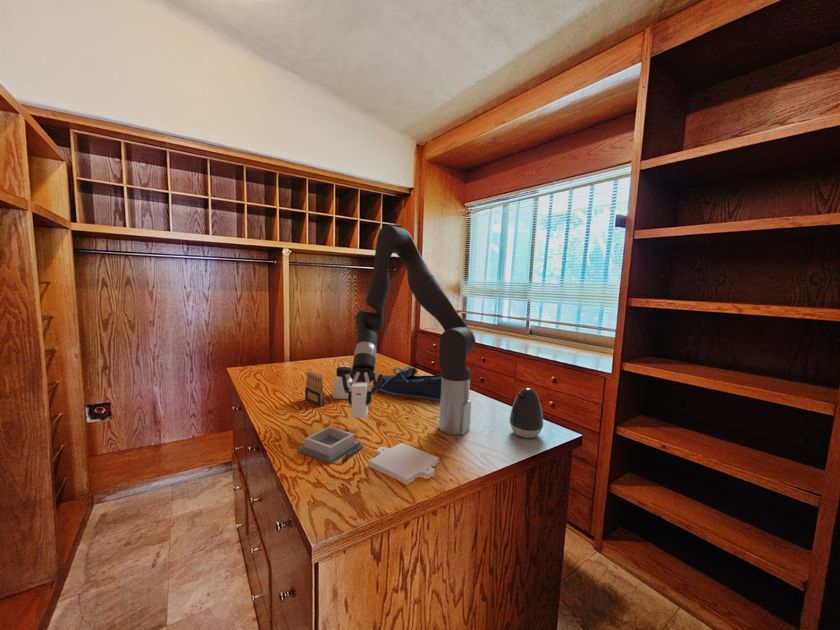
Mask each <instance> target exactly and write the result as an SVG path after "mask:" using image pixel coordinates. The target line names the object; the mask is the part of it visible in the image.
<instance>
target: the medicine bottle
mask: <svg viewBox="0 0 840 630" xmlns="http://www.w3.org/2000/svg"><path fill="white" fill-rule="evenodd" d="M351 371H352V367H351V366H348V365H342V366H341V365H340V366H339V367H337V368H336V374H335V375H336V378H335V379H334V380H333V381H332V399H334V398H336V399H337V400H338V399H340V400H341V399H342V400H348V394H349V393H345V391H344V388H343V381H342V374H345V375H346V374H350V372H351ZM352 381H353V380H352V379H351V377H350V378H349V380H348V381H347V386H348V388H350V386H351V383H352Z"/></svg>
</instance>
